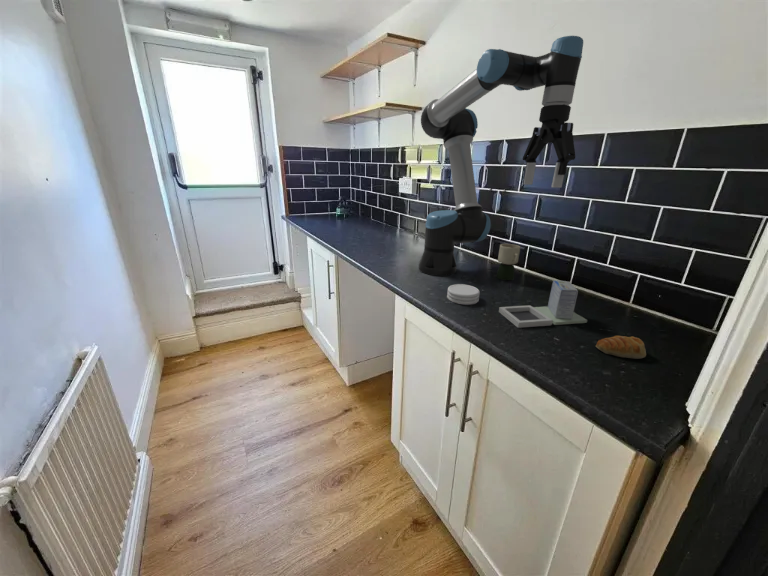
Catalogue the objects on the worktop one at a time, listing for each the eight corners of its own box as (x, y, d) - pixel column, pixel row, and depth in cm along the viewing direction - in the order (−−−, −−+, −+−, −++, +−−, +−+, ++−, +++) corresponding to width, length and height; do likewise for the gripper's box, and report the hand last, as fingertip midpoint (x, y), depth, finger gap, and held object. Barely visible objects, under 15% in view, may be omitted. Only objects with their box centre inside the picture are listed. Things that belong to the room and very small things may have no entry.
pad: (532, 309, 97) (532, 307, 97) (561, 307, 99) (562, 305, 99) (554, 325, 88) (555, 322, 88) (586, 322, 90) (587, 320, 90)
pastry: (605, 358, 73) (609, 344, 72) (588, 343, 80) (592, 329, 78) (647, 360, 73) (652, 345, 72) (627, 345, 79) (632, 331, 78)
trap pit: (498, 311, 95) (499, 307, 95) (529, 309, 97) (530, 305, 96) (518, 327, 86) (519, 322, 85) (551, 325, 88) (552, 320, 87)
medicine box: (571, 320, 89) (579, 290, 86) (554, 318, 90) (561, 289, 87) (562, 308, 97) (569, 281, 93) (546, 307, 97) (553, 279, 94)
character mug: (521, 283, 119) (528, 248, 114) (504, 284, 117) (510, 249, 113) (504, 274, 129) (510, 242, 124) (488, 275, 127) (493, 242, 123)
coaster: (441, 295, 107) (441, 285, 105) (466, 291, 110) (467, 282, 109) (458, 307, 98) (459, 296, 97) (485, 303, 102) (486, 292, 100)
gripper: (604, 98, 79) (583, 189, 87) (540, 113, 102) (527, 183, 110) (577, 96, 78) (558, 188, 85) (518, 111, 101) (507, 183, 108)
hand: (541, 186), depth 98 cm, fingers open, 13 cm apart
